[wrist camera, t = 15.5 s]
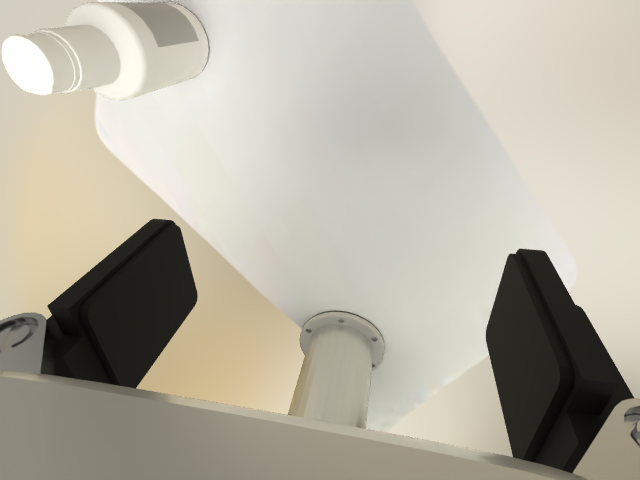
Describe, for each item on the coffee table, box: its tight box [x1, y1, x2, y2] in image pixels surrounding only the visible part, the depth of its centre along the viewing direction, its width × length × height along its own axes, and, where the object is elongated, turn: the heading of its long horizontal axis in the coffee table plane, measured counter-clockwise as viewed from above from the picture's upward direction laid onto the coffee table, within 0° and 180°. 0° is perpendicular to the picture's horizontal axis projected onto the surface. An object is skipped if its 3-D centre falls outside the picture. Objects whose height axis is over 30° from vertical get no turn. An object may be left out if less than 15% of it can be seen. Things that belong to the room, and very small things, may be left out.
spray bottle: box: [1, 2, 209, 100], centre depth 30 cm, size 7×7×18 cm
